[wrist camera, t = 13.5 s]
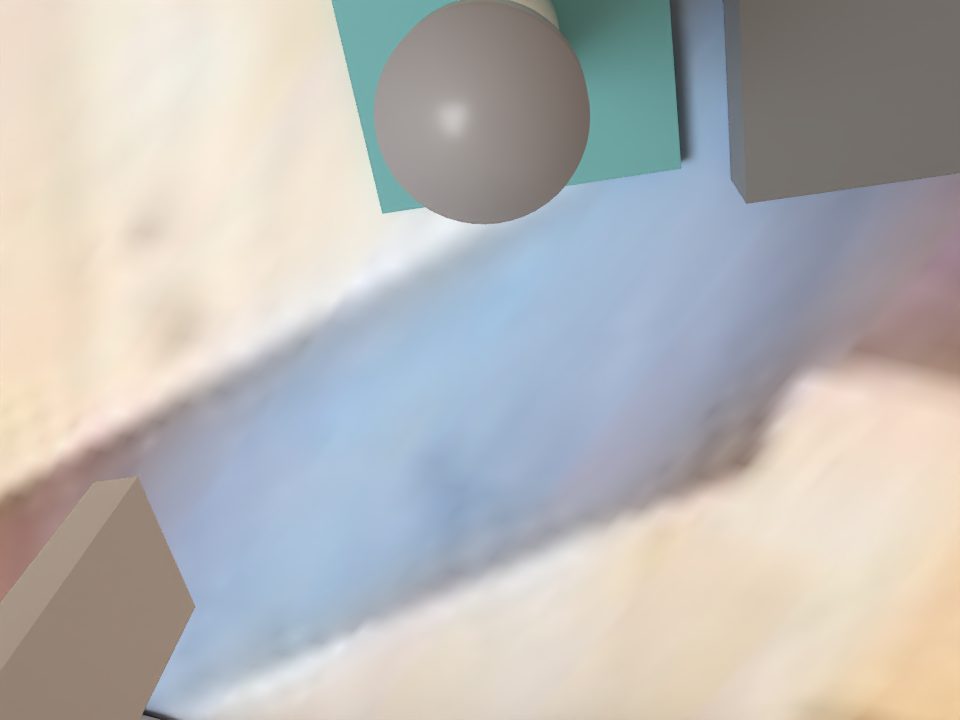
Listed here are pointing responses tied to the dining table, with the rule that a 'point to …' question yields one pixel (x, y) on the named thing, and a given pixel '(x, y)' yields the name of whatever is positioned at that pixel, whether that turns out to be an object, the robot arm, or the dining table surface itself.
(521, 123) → the plug
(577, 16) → the mat
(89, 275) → the dining table surface
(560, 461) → the dining table surface
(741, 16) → the grey socket plate
